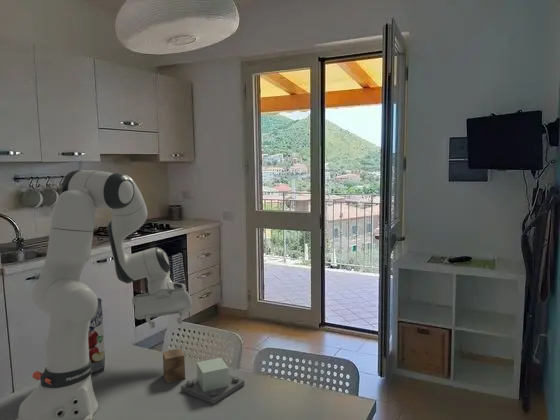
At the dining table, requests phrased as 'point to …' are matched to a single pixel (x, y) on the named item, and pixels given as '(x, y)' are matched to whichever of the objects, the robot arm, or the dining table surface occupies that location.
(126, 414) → the dining table surface
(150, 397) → the dining table surface
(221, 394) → the baseplate
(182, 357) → the walnut brick
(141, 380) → the dining table surface
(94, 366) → the juice carton
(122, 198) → the robot arm
